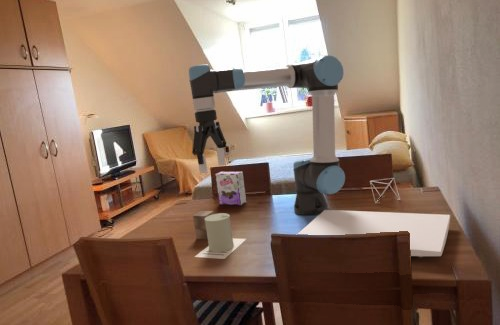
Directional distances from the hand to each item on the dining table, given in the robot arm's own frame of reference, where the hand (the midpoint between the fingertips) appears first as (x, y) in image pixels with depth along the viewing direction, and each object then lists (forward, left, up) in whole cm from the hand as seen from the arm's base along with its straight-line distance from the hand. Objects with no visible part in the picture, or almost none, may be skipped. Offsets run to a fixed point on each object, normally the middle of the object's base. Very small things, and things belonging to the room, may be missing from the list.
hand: (213, 169), depth 141 cm
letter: (-1, +4, -29) cm, 29 cm away
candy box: (+23, -53, -29) cm, 65 cm away
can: (-1, +4, -28) cm, 29 cm away
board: (-52, -10, -29) cm, 61 cm away
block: (+11, -6, -29) cm, 31 cm away
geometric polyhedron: (-52, -57, -29) cm, 82 cm away
